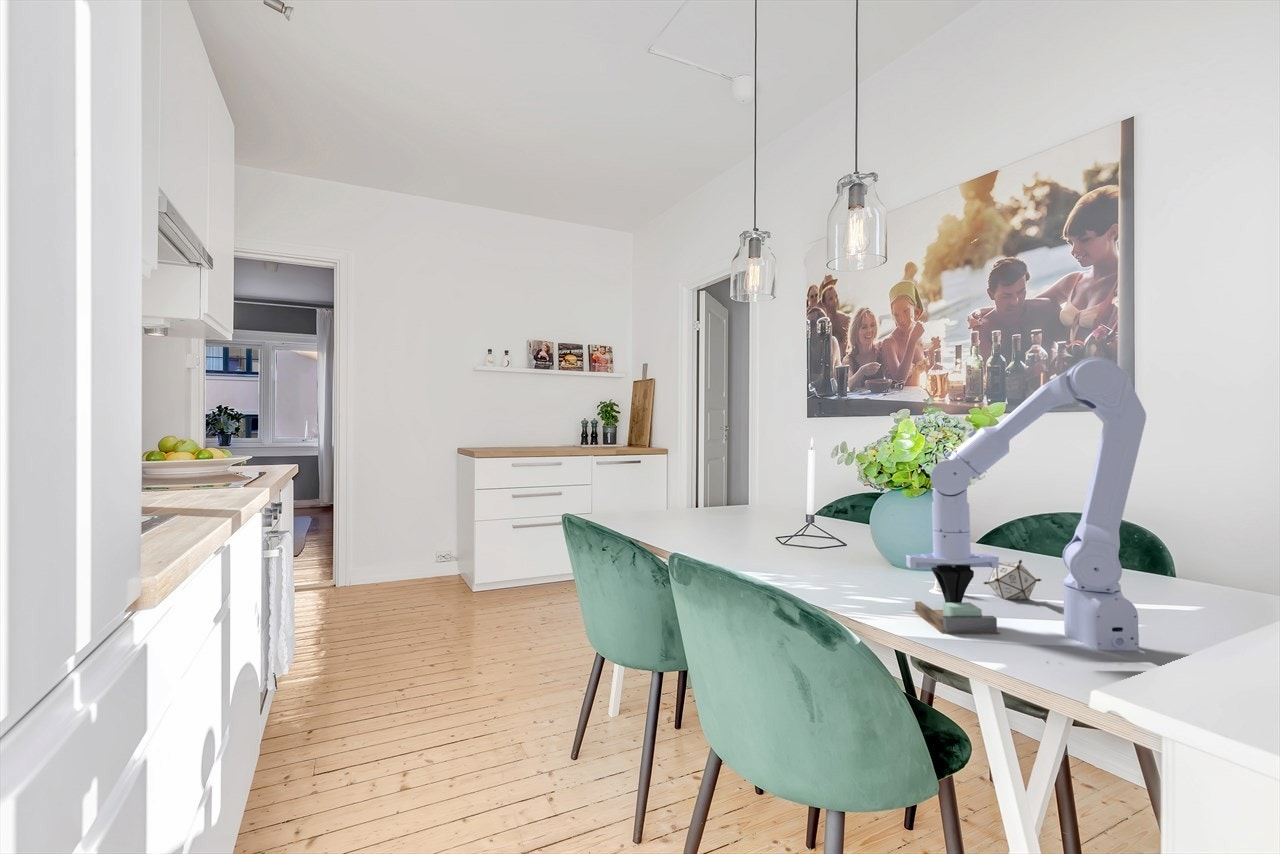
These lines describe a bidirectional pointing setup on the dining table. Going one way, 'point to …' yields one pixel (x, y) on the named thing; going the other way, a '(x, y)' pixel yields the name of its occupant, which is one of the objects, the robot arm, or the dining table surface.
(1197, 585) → the dining table surface
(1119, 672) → the dining table surface
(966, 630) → the chute
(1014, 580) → the game die
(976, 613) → the block
